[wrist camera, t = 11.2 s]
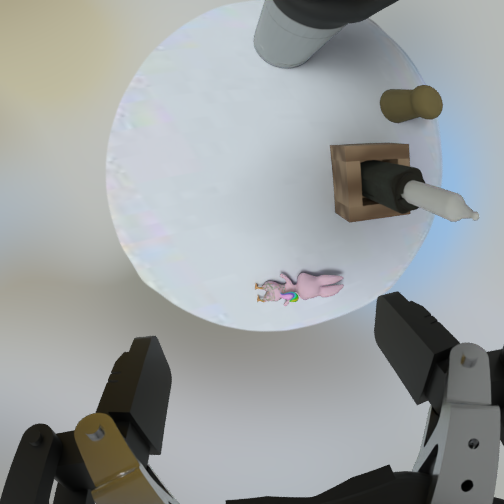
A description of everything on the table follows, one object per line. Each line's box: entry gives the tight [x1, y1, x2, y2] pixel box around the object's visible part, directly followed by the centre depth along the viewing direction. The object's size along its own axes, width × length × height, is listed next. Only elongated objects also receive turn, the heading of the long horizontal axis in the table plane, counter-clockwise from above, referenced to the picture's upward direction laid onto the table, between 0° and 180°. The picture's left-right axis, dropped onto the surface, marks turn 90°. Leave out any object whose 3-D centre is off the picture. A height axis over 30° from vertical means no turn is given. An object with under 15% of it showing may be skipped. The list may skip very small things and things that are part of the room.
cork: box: [380, 85, 443, 123], centre depth 35 cm, size 6×6×11 cm
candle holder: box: [330, 143, 410, 222], centre depth 42 cm, size 11×11×6 cm
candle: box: [360, 160, 479, 222], centre depth 32 cm, size 5×5×25 cm
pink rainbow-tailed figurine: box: [255, 273, 344, 306], centre depth 48 cm, size 6×6×15 cm
